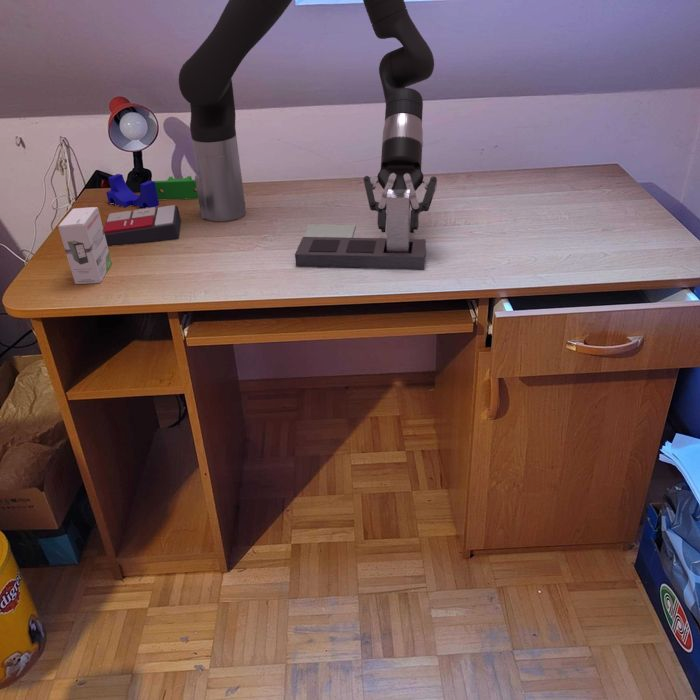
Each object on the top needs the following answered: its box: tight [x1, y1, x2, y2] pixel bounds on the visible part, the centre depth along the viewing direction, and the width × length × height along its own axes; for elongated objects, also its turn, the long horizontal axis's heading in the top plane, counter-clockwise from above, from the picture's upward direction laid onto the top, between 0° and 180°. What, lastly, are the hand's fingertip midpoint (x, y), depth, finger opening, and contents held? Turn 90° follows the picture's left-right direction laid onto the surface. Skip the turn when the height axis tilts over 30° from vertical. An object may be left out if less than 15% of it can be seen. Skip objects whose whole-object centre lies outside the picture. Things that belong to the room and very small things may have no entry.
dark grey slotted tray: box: [294, 236, 427, 270], centre depth 127 cm, size 24×8×3 cm, turn 83°
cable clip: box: [105, 173, 160, 209], centre depth 155 cm, size 12×4×6 cm, turn 58°
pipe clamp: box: [154, 175, 198, 200], centre depth 159 cm, size 11×4×5 cm, turn 89°
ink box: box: [57, 206, 113, 285], centre depth 124 cm, size 9×5×12 cm, turn 2°
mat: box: [302, 224, 356, 238], centre depth 137 cm, size 10×10×1 cm
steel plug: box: [386, 190, 411, 253], centre depth 123 cm, size 4×4×13 cm
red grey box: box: [103, 204, 182, 247], centre depth 142 cm, size 11×4×15 cm
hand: (397, 230), depth 122 cm, fingers open, 4 cm apart
